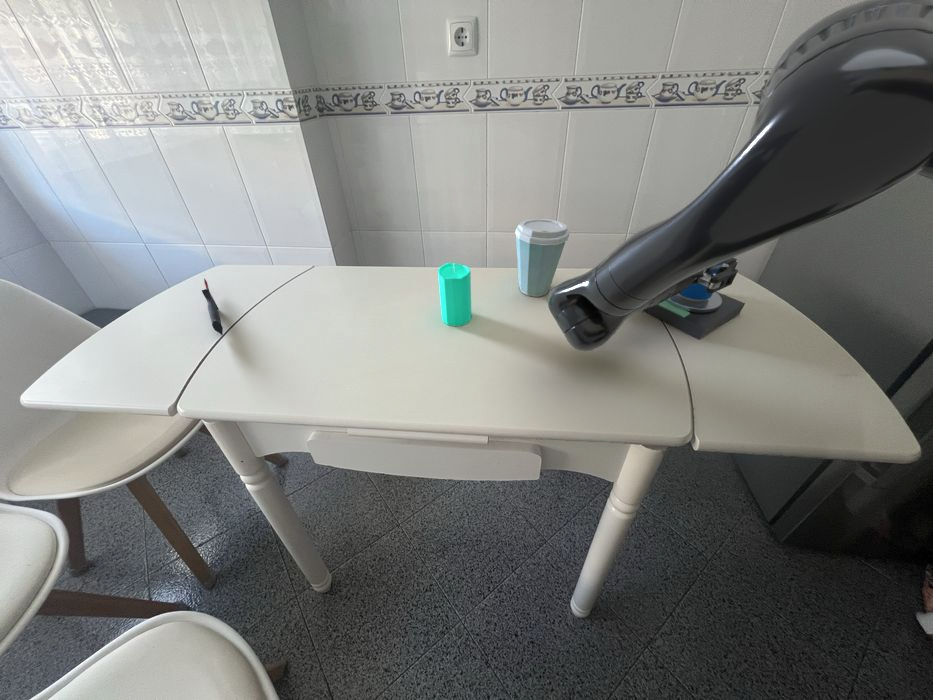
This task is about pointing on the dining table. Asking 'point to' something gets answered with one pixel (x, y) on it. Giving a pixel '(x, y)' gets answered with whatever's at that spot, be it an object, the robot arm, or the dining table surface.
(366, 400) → the dining table surface
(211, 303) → the knife
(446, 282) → the candle
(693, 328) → the scale
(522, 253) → the disposable coffee cup
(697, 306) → the scale pan
